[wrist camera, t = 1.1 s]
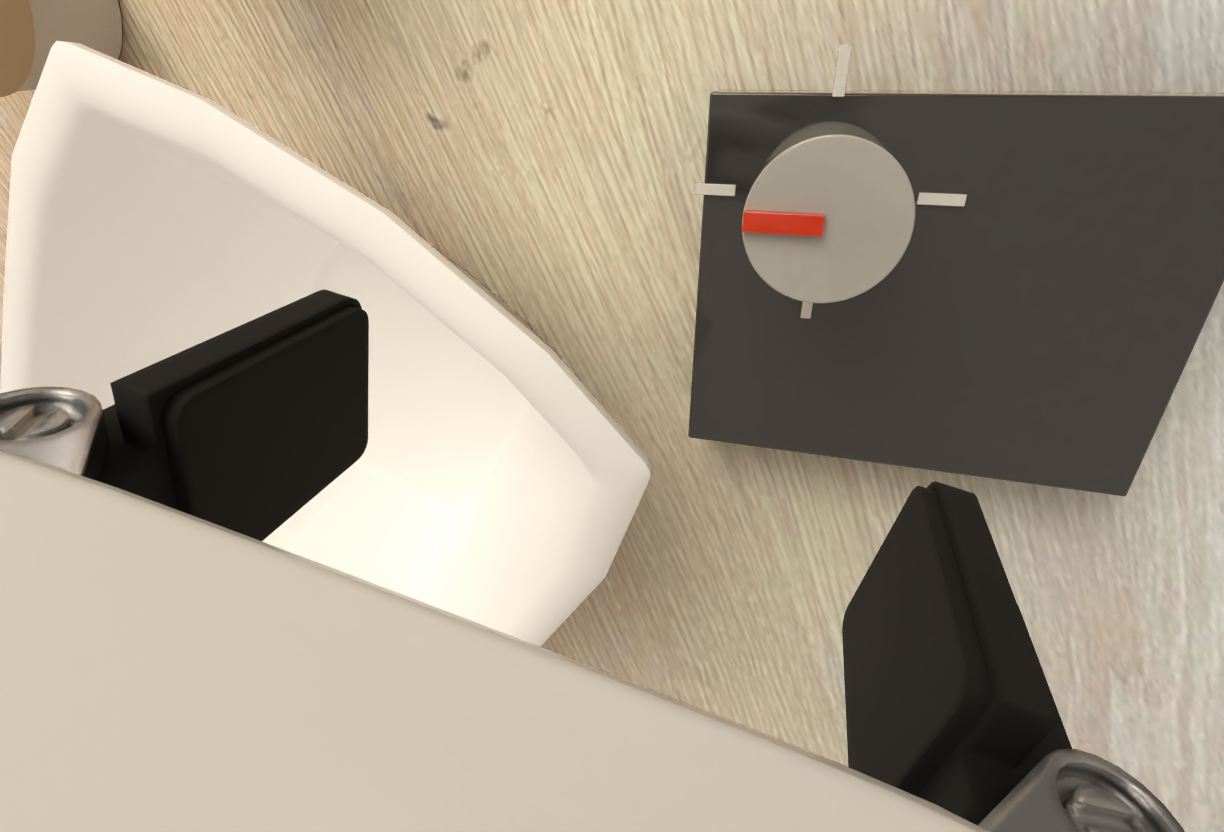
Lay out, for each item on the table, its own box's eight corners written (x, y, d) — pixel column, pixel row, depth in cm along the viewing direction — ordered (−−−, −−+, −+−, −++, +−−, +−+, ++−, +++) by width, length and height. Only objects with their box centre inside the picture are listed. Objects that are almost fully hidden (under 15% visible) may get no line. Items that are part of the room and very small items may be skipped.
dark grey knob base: (1265, 44, 19) (1339, 39, 16) (1096, 455, 26) (1128, 500, 23) (716, 49, 23) (702, 45, 20) (692, 405, 30) (680, 438, 27)
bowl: (750, 341, 28) (720, 465, 19) (495, 632, 41) (409, 784, 32) (276, -14, 26) (9, -57, 18) (171, 405, 39) (-12, 500, 31)
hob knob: (909, 122, 20) (936, 137, 15) (881, 264, 22) (897, 314, 17) (763, 120, 21) (748, 133, 16) (749, 255, 23) (733, 300, 19)
